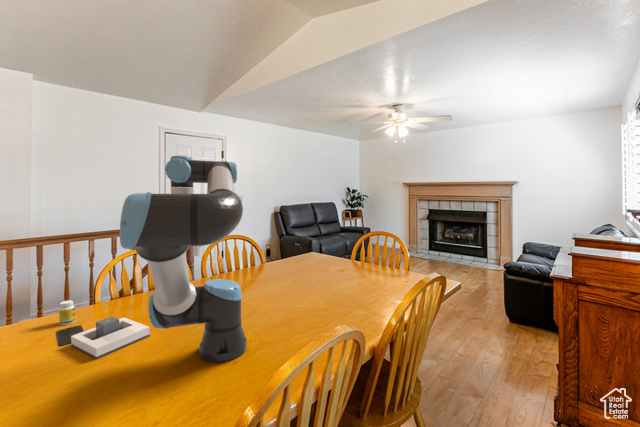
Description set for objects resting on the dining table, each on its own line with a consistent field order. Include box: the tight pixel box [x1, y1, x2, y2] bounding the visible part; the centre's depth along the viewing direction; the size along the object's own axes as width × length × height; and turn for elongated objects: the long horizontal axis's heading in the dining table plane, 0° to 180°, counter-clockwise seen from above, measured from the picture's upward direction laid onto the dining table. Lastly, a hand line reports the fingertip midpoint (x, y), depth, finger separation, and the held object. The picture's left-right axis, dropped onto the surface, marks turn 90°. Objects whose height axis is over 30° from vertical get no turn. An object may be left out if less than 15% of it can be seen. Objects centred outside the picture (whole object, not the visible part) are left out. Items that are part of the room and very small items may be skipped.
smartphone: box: [56, 324, 85, 347], centre depth 107 cm, size 7×1×15 cm
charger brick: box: [95, 316, 120, 339], centre depth 104 cm, size 5×5×6 cm
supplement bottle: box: [58, 299, 76, 326], centre depth 116 cm, size 5×5×8 cm
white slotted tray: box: [70, 317, 151, 360], centre depth 103 cm, size 16×17×4 cm
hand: (183, 258), depth 109 cm, fingers open, 11 cm apart
